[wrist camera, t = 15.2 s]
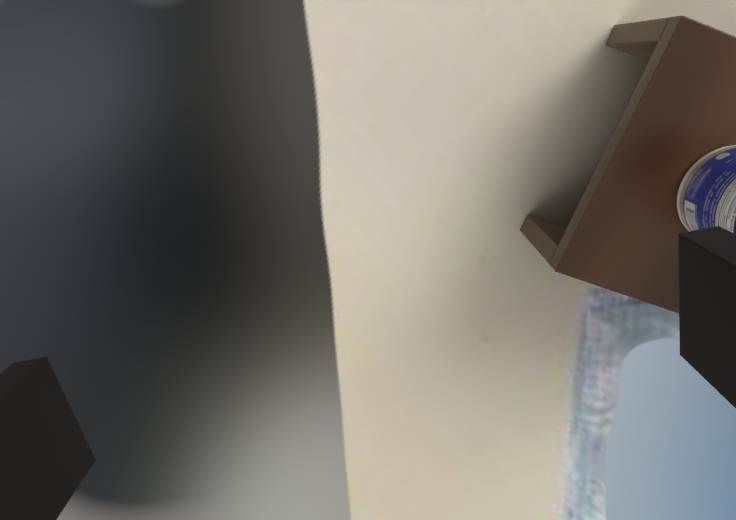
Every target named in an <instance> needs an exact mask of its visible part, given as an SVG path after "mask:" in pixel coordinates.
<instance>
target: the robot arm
mask: <svg viewBox="0 0 736 520" xmlns="http://www.w3.org/2000/svg"><path fill="white" fill-rule="evenodd" d="M678 241H679V316H680V355H681V356H682V357H683V358H684V359H685V360H686V361H688V363H689V364H690V365H691V366H692V367H693V368H694V369H695V370H696V371H698V372H699V373H700V374H701V375H702V376H703V377H704V378H705V379H706V380H707V381H708V382H709V383H710V384H711V385H712V386H713V387H714V388H716V390H717V391H718V392H719V393H720V394H721V395H723V396H724V397H725V398H726V399H727V400H728V401H729V402H730V403H731V404H732V405H733V406H734V407H735V408H736V234H734V233H732V232H730V231H728V230H726V229H724V228H722V227H720V226H715V227H710V228H705V229H699V230H694V231H689V232H684V233H679V234H678ZM94 462H95V457H94V455H93V453H92V451H91V449H90V447H89V445H88V442H87V440H86V438H85V436H84V434H83V432H82V430H81V428H80V426H79V423H78V421H77V419H76V417H75V415H74V413H73V411H72V409H71V407H70V405H69V402H68V400H67V398H66V396H65V394H64V392H63V390H62V388H61V386H60V384H59V381H58V380H57V378H56V375H55V373H54V371H53V369H52V367H51V365H50V363H49V361H48V358H47V357H41V358H36V359H31V360H26V361H21V362H16V363H12V364H11V365H10V366H9V367H8V368H7V369H6V370H4V371H3V372H2V373H1V374H0V520H56V519H57V518H58V516H59V515H60V513H61V512H62V510H63V509H64V507H65V506H66V504H67V502H68V501H69V499H70V498H71V496H72V495H73V493H74V492H75V490H76V489H77V487H78V486H79V484H80V483H81V481H82V480H83V478H84V477H85V475H86V474H87V472H88V471H89V469H90V468H91V466H92V465H93V463H94Z"/></svg>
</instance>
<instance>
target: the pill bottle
mask: <svg viewBox="0 0 736 520" xmlns="http://www.w3.org/2000/svg"><path fill="white" fill-rule="evenodd" d="M677 211H678V215H679V218H680V220H681V222H682V223H683V225H684V226H685V228H686V229H687V230H688V231H694V230H699V229H705V228H710V227H715V226H720V227H722V228H724V229H726V230H728V231H730V232H732V233H734V234H736V145H731V146H726V147H722V148H719V149H716V150H714V151H712V152H710V153H708V154H706V155H705V156H703V157H702V158H700V159H699V160H698V161H697V162H696V163H695V164H694V165H693V166H692V167H691V168H690V169H689V170H688V172H687V173H686V175H685V176H684V178H683V180H682V182H681V184H680V187H679V190H678V194H677Z"/></svg>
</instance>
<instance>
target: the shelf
mask: <svg viewBox="0 0 736 520" xmlns="http://www.w3.org/2000/svg"><path fill="white" fill-rule="evenodd" d="M606 44H607V45H609V46H611V47H614V48H616V49H619V50H621V51H624V52H626V53H629V54H632V55H634V56H637V57H639V58H642V59H644V60H647V61H649V62H648V64H647V66H646V68H645V70H644V72H643V74H642V76H641V78H640V80H639V82H638V84H637V86H636V88H635V90H634V92H633V94H632V96H631V98H630V101H629V103H628V105H627V107H626V109H625V111H624V113H623V115H622V117H621V119H620V121H619V123H618V125H617V127H616V129H615V131H614V133H613V135H612V137H611V139H610V141H609V143H608V145H607V147H606V149H605V151H604V153H603V156H602V158H601V160H600V162H599V164H598V166H597V168H596V170H595V172H594V174H593V176H592V178H591V180H590V182H589V184H588V186H587V188H586V190H585V192H584V194H583V196H582V198H581V200H580V202H579V204H578V206H577V209H576V211H575V213H574V215H573V217H572V219H571V221H570V223H569V225H568V227H567V229H566V228H563V227H560V226H558V225H555V224H552V223H549V222H546V221H543V220H540V219H538V218H535V217H532V216H529V215H527V216H526V218H525V221H524V223H523V225H522V227H521V229H520V231H521V232H522V233H523V234H524V235H525V236H526V238H527V239H528V240H529V241H530V242H531V243H532V244H533V246H534V247H535V248H536V249H537V250H538V251H539V253H540V254H541V255H542V256H543V257H544V258H545V260H546V261H547V262H548V263H549V264H550V265H551V267H552V268H553V269H554V270H555V271H556V272H559V273H562V274H565V275H568V276H571V277H574V278H576V279H579V280H582V281H585V282H588V283H591V284H594V285H597V286H600V287H603V288H606V289H609V290H612V291H615V292H618V293H621V294H624V295H626V296H629V297H632V298H635V299H638V300H641V301H644V302H647V303H650V304H653V305H656V306H659V307H662V308H665V309H668V310H671V311H674V312H676V313H679V241H678V234H679V233H684V232H689V231H688V230H687V229H686V228H685V226H684V225H683V223H682V222H681V220H680V218H679V215H678V211H677V194H678V190H679V187H680V184H681V182H682V180H683V178H684V176H685V175H686V173H687V172H688V170H689V169H690V168H691V167H692V166H693V165H694V164H695V163H696V162H697V161H698V160H699V159H700V158H702V157H703V156H705V155H706V154H708V153H710V152H712V151H714V150H716V149H719V148H722V147H726V146H731V145H736V37H735V36H732V35H730V34H727V33H725V32H722V31H720V30H717V29H715V28H712V27H710V26H708V25H705V24H703V23H700V22H698V21H695V20H693V19H690V18H688V17H685V16H676V17H670V18H663V19H656V20H648V21H641V22H634V23H627V24H620V25H615V26H614V28H613V30H612V32H611V34H610V36H609V39H608V41H607V43H606Z"/></svg>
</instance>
